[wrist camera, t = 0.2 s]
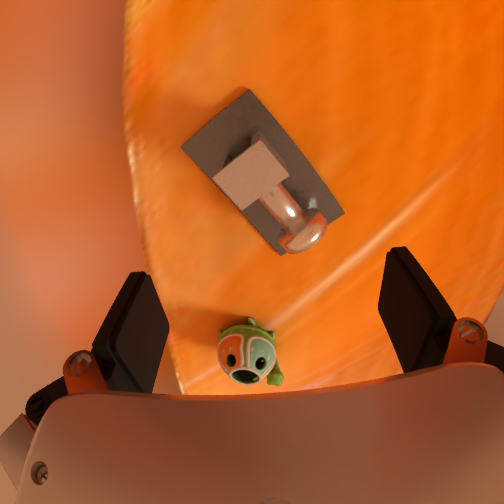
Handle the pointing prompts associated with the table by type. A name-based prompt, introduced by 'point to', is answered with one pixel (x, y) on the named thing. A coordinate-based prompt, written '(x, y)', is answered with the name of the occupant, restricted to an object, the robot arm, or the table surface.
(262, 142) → the bearing housing
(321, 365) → the table surface
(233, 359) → the turtle holder
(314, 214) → the door knob
